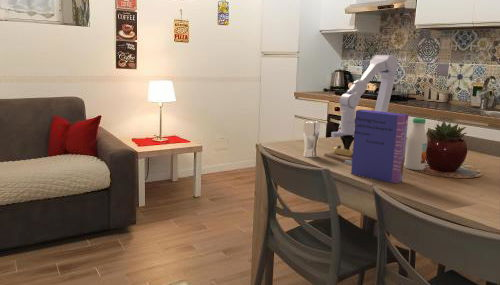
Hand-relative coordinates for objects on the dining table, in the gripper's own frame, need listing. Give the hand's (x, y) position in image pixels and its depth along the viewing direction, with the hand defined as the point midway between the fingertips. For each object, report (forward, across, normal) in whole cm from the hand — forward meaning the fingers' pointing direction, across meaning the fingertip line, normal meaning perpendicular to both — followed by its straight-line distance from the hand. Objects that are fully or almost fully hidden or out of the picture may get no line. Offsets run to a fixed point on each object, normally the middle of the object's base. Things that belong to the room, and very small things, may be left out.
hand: (346, 152), depth 193 cm
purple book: (+2, -7, -32) cm, 33 cm away
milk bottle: (+3, +17, -24) cm, 29 cm away
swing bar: (0, -1, -2) cm, 2 cm away
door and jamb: (+2, +2, -8) cm, 8 cm away
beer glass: (+2, -15, +5) cm, 16 cm away
